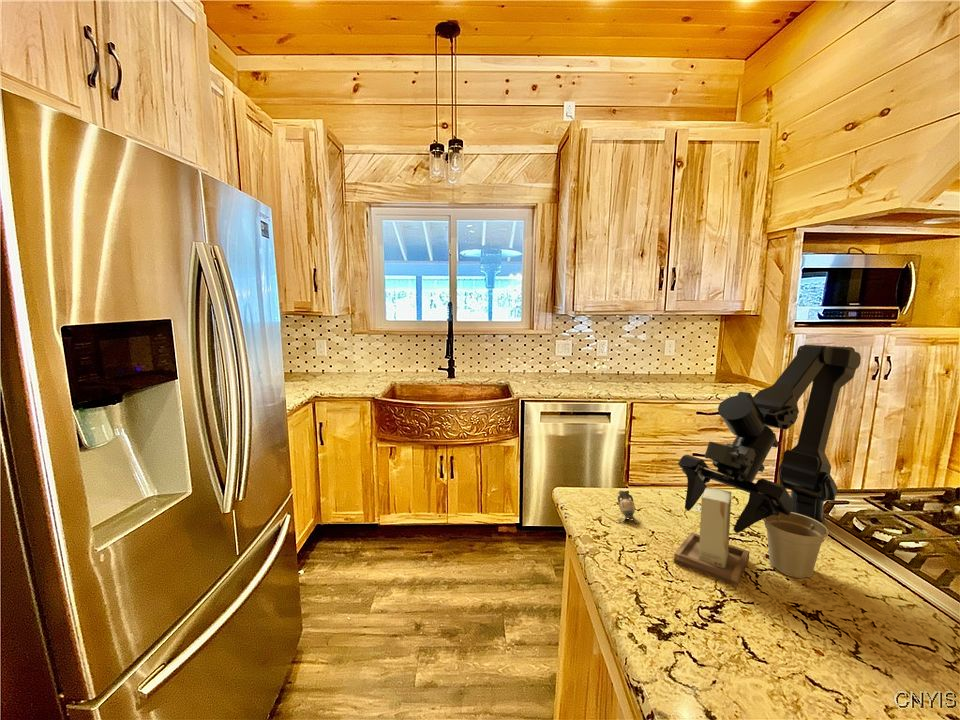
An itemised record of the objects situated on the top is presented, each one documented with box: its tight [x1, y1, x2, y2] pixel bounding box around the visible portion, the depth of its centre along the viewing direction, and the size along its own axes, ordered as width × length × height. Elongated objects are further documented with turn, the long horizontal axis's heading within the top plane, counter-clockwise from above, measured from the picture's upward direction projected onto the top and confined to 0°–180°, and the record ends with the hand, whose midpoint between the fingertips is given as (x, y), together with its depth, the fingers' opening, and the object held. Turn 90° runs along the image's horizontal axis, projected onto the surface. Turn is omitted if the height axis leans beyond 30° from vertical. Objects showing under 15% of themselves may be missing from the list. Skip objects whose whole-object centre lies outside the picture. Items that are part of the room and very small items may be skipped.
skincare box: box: [699, 486, 732, 568], centre depth 75 cm, size 6×4×12 cm
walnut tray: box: [673, 532, 750, 588], centre depth 76 cm, size 10×10×2 cm
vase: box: [615, 490, 641, 524], centre depth 92 cm, size 5×5×6 cm
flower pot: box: [762, 512, 830, 579], centre depth 73 cm, size 9×9×9 cm
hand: (709, 520), depth 74 cm, fingers open, 9 cm apart
